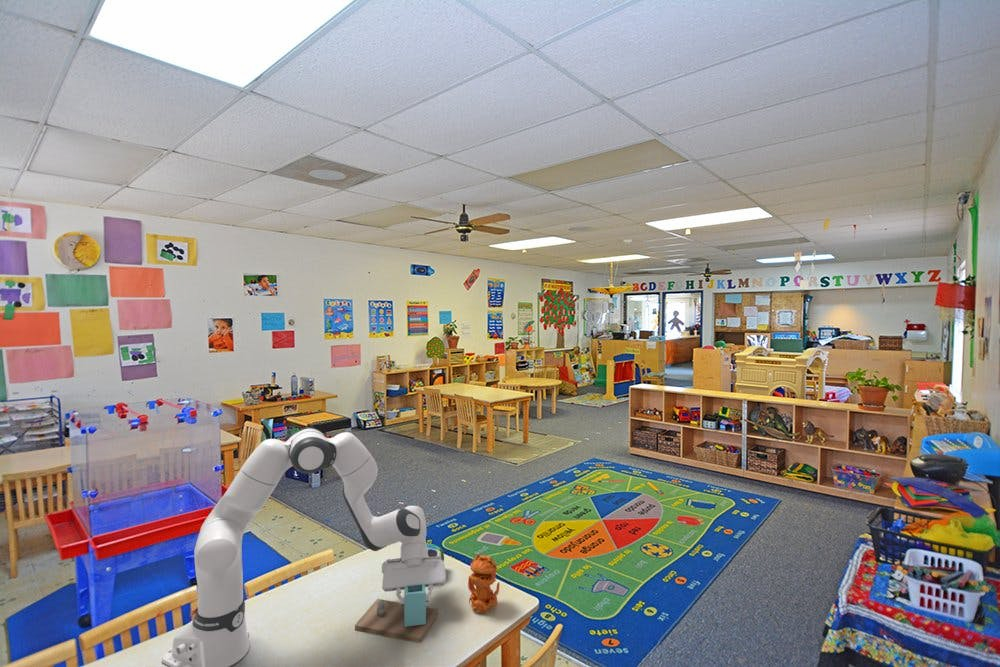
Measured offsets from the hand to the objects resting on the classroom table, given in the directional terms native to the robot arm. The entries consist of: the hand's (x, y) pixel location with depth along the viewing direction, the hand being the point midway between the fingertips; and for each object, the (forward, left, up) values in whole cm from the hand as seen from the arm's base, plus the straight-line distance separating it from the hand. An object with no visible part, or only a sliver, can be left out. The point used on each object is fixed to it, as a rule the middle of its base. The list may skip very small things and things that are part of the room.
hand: (415, 603), depth 144 cm
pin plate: (-6, +1, -7) cm, 10 cm away
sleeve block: (0, +1, -5) cm, 5 cm away
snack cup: (-8, +27, -8) cm, 29 cm away
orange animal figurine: (+18, +15, -8) cm, 24 cm away
